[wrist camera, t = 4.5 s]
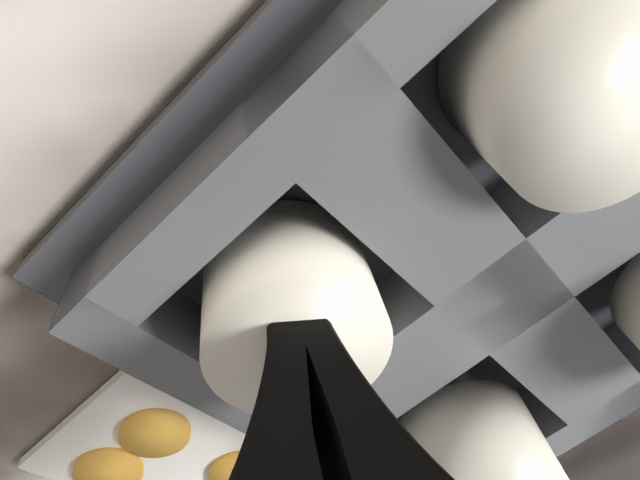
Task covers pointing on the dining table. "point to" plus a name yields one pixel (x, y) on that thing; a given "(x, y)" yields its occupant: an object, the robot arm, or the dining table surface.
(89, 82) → the dining table surface
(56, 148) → the dining table surface
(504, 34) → the button
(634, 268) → the button
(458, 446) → the button
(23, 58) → the dining table surface
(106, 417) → the card
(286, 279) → the button
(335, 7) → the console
